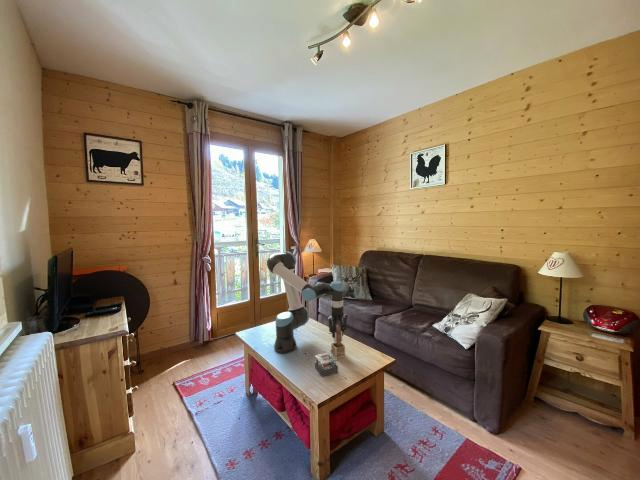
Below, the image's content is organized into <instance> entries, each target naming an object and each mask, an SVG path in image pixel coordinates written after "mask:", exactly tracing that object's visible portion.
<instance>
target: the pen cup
mask: <svg viewBox="0 0 640 480" xmlns="http://www.w3.org/2000/svg"><path fill="white" fill-rule="evenodd" d="M330 346H331V347H330V352H331V353H332V354H333V355H334V356H335V357H336V359H340V358H343V357H346V345H345V344H344V343H343V342H341V347H337V348H336V347H335V342H331V343H330Z"/></svg>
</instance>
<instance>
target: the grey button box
mask: <svg viewBox="0 0 640 480" xmlns="http://www.w3.org/2000/svg"><path fill="white" fill-rule="evenodd" d="M327 356H328V357H327ZM314 357H315V361H314V369H315V370H316V371H317V373H318V375H319V376H321V378H325V377H328V376H331V375H335V374H338V373H339V368H338V367H339V366H338V364H337V362H338V358H336V357H335V356H334V355H333V354H332V353H331V351H327V352H323V353H320V354H315V355H314ZM324 357H327V358H324ZM328 363H329V366H325V367H324V364H328Z"/></svg>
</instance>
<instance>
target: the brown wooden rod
mask: <svg viewBox="0 0 640 480" xmlns="http://www.w3.org/2000/svg"><path fill="white" fill-rule="evenodd" d="M335 333H336V342H337V343H335V342H334V343H335V347H336V348H337V347H341V343H342V342H341V326H340V325H339V324H336V330H335Z"/></svg>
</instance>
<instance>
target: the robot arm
mask: <svg viewBox="0 0 640 480" xmlns="http://www.w3.org/2000/svg"><path fill="white" fill-rule="evenodd" d="M296 263H297V257H296V256H295V255H294V253H292V252H290V251H283V252H280V253H273V254H271V255H270V256H269V257H268V258H267V260H266V268H267V269H268V271H269V272H270V273H271V274H272V275H274V276H277V277H279V278H280V279H282V280H283V285H284V289H285V294H286V298H287V302H288V305H289V307H288V309H287V311H283V312H282V311H281V312H280V313H278V314H277V316H275V332H276V337H275V340H274V346H273V350H274V352H276V353H278V354H289V353H292V352H294V351H295V350H296V349H297V346H298V345H297V341H296V338H295V336H294V335H295V333H294V331H295V330H297V329H298V328H301V327H303V326H304V325H306V324H307V323H308V322H309V320H310V312H309V310H308V308H306V307H305V305H304V304H302V302H301V298H302V299H303V300H304V301H305V302H311V301H314V300H316V299H319V298H320V297H323V296H329V297H331V300H330V301H331V302H330V303H331V308H330V310H331V314H330V316H327V321H328V329H329V330H328V331H329V332H330V333H331V334H332V335H331V337H332V339H333V343H337V342H336V333H335V330H336V325H337V323H338V325H339V326H341V343H343V336H344V332H345V331H346V330H347V319H348V314H347V313H344V284H343V282H342V281H340V280H333V281H331V282H329V283H327V282H325V281H317V282H316V283H315V285H314V286H313V285H311V284H310V283H308V281H305V280H304V279H303V278H302V277H300V276H299V275H297V274H296V273H295V272H294V271H295V270H296V268H295V266H296ZM300 293H301V298H300Z"/></svg>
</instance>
